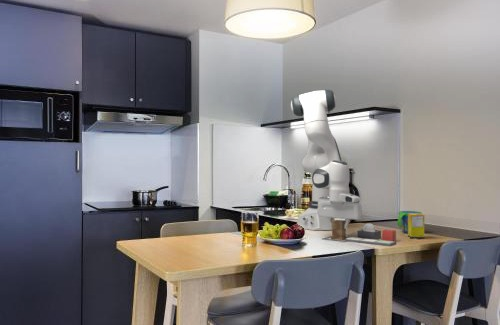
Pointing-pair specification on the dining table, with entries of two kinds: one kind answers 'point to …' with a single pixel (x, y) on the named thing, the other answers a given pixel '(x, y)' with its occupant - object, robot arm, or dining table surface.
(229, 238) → the dining table surface
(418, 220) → the supplement box
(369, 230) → the dome button
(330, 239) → the pad
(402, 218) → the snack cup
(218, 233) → the dining table surface
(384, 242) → the game track
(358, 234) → the dome housing
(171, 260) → the dining table surface
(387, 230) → the red die
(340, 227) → the brown wooden block
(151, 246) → the dining table surface
